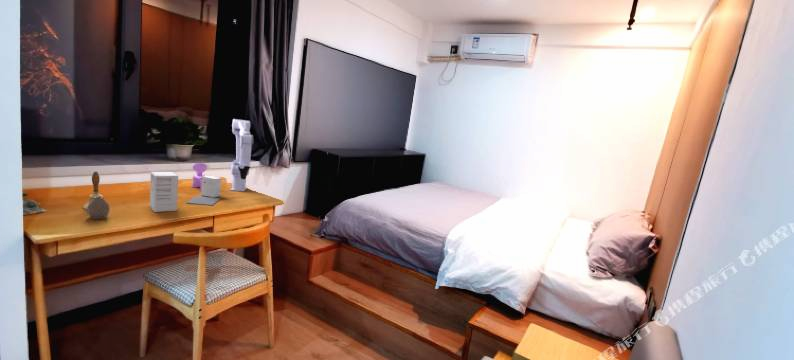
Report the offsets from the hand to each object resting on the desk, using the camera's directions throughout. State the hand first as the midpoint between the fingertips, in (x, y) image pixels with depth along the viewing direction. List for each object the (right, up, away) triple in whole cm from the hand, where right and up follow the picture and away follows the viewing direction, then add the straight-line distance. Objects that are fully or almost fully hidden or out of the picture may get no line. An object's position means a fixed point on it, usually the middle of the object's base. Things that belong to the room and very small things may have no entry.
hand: (243, 178), depth 202 cm
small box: (-15, -10, -8) cm, 20 cm away
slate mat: (-13, -12, -18) cm, 25 cm away
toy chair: (-27, -6, +4) cm, 28 cm away
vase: (-32, -16, -60) cm, 70 cm away
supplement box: (-21, -14, -39) cm, 46 cm away
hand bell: (-43, -13, -50) cm, 67 cm away
